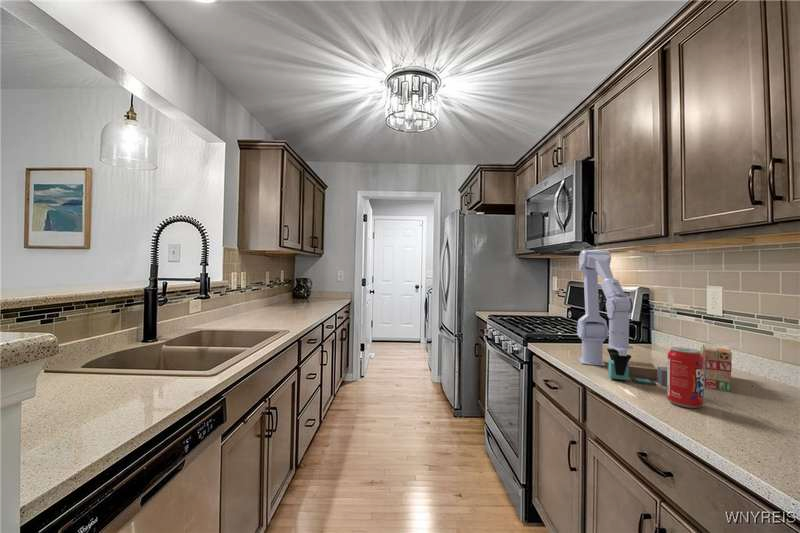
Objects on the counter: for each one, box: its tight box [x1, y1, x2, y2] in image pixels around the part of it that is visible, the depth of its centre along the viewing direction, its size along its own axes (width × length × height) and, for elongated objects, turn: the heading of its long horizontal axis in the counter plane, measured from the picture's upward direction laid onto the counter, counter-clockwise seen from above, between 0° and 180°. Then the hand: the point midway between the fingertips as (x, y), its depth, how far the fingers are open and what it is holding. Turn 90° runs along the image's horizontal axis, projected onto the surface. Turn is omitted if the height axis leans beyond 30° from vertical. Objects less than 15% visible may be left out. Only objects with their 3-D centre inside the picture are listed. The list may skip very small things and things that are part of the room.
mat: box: [629, 377, 658, 387], centre depth 118 cm, size 6×6×1 cm
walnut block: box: [628, 360, 657, 382], centre depth 126 cm, size 9×9×4 cm
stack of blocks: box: [700, 342, 733, 393], centre depth 120 cm, size 21×6×12 cm, turn 143°
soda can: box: [666, 346, 705, 409], centre depth 99 cm, size 8×8×15 cm
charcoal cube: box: [656, 366, 667, 387], centre depth 116 cm, size 5×5×5 cm
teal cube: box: [607, 359, 630, 381], centre depth 121 cm, size 5×5×5 cm
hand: (618, 372), depth 121 cm, fingers closed on teal cube, 5 cm apart
